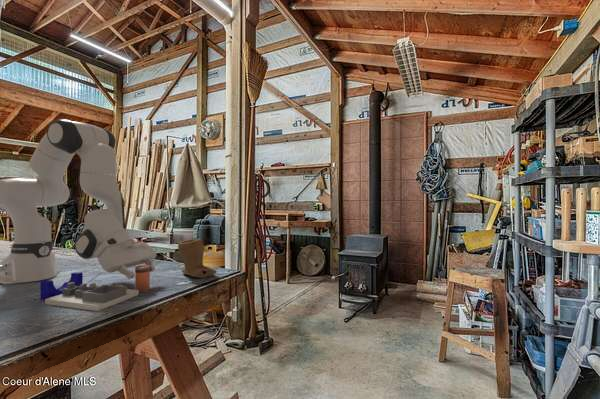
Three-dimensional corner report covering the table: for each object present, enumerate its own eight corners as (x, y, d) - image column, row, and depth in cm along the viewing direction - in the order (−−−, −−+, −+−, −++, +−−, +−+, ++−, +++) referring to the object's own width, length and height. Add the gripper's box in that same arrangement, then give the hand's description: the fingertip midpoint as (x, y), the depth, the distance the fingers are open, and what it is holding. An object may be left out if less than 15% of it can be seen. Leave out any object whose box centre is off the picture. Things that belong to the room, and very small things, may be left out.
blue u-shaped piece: (71, 288, 109) (71, 271, 109) (82, 289, 108) (82, 272, 108) (36, 300, 97) (36, 281, 97) (48, 301, 96) (48, 281, 96)
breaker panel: (45, 304, 93) (45, 287, 93) (91, 289, 107) (91, 275, 107) (97, 311, 87) (97, 293, 87) (138, 294, 102) (138, 279, 102)
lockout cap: (131, 291, 106) (131, 267, 106) (142, 287, 110) (142, 264, 110) (143, 292, 105) (143, 268, 104) (152, 288, 109) (152, 265, 109)
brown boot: (173, 274, 129) (173, 238, 128) (201, 269, 137) (201, 235, 136) (188, 281, 117) (188, 242, 117) (217, 276, 125) (217, 239, 125)
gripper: (137, 246, 121) (158, 272, 118) (89, 255, 101) (113, 287, 98) (147, 234, 119) (168, 261, 117) (99, 242, 100) (124, 274, 97)
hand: (143, 273), depth 107 cm, fingers open, 8 cm apart
